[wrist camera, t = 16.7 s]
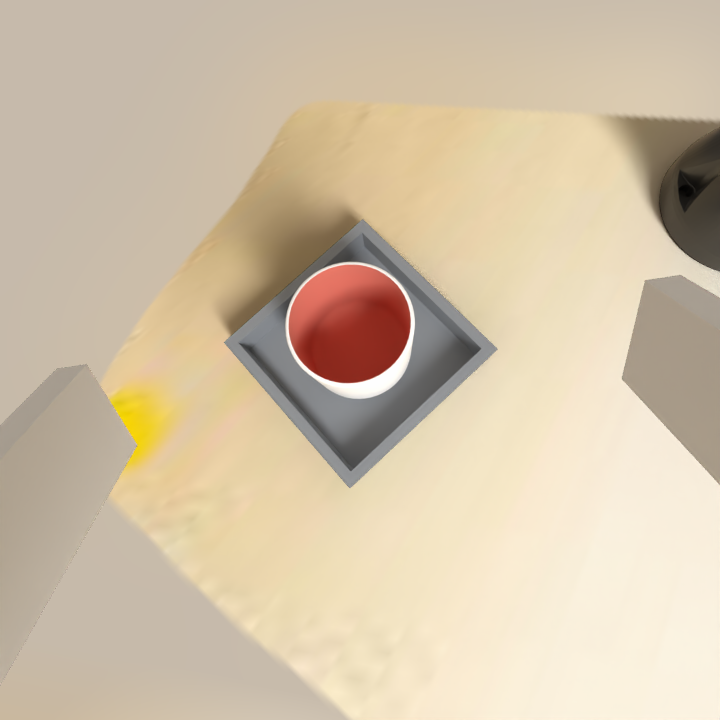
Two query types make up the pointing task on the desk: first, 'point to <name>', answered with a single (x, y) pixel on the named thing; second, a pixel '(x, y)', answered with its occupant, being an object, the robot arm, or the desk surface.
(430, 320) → the tray
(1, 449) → the robot arm
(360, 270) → the cup
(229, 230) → the desk surface
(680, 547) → the desk surface
